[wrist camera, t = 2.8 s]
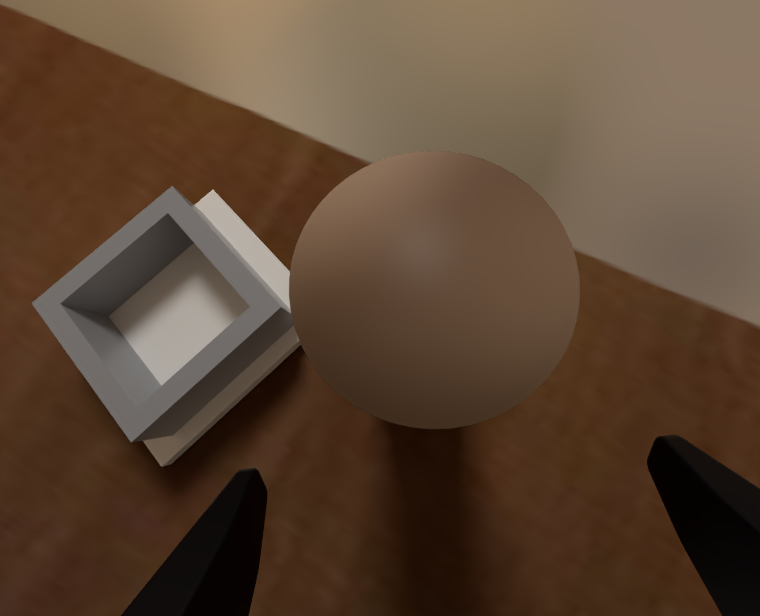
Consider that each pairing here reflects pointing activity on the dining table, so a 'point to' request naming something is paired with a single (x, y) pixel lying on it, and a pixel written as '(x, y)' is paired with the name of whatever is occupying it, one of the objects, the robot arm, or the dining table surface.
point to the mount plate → (174, 319)
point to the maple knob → (434, 290)
